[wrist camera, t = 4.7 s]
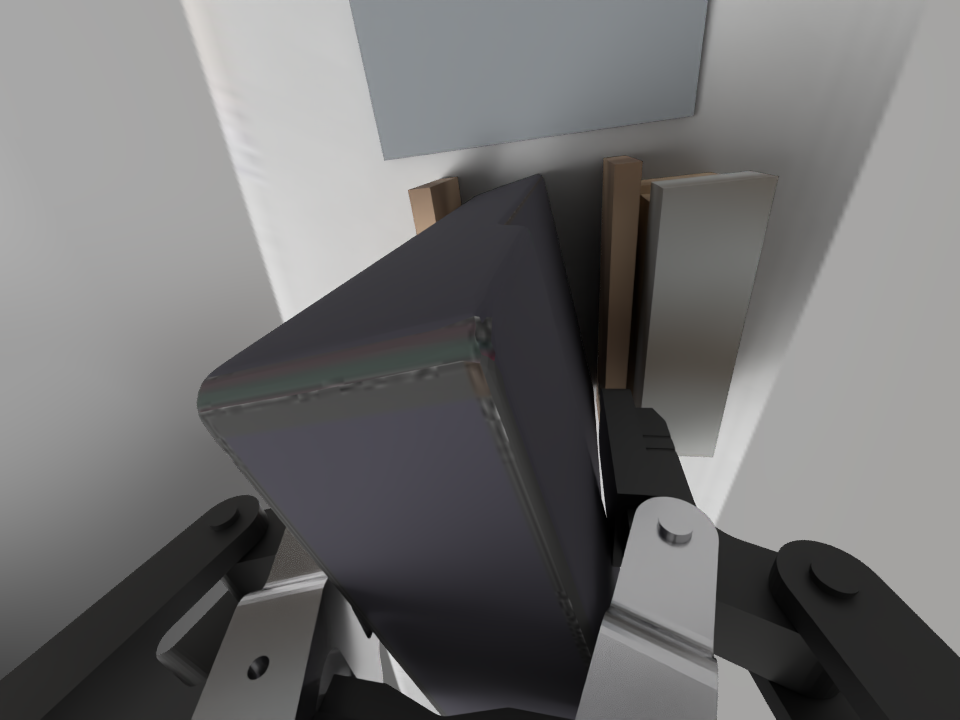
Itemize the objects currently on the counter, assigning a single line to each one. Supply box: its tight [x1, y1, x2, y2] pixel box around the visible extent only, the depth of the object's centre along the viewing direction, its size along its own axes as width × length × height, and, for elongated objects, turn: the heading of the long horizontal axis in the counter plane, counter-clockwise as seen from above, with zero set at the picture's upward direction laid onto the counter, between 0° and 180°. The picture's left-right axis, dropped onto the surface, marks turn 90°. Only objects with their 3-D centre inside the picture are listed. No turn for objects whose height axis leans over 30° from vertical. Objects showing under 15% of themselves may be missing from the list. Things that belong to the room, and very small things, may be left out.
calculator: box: [197, 174, 620, 720], centre depth 12 cm, size 11×4×15 cm, turn 19°
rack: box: [408, 155, 643, 421], centre depth 17 cm, size 12×8×4 cm, turn 7°
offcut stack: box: [626, 171, 779, 457], centre depth 15 cm, size 11×3×5 cm, turn 7°
